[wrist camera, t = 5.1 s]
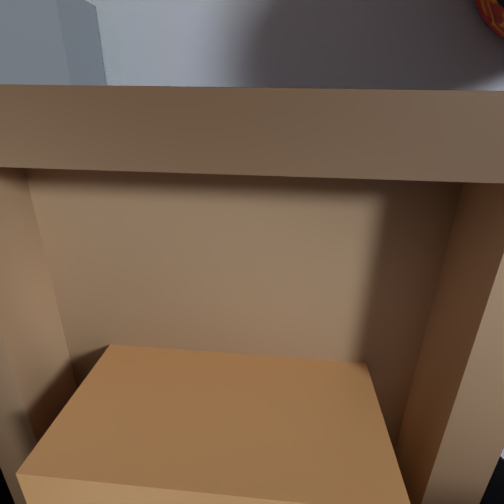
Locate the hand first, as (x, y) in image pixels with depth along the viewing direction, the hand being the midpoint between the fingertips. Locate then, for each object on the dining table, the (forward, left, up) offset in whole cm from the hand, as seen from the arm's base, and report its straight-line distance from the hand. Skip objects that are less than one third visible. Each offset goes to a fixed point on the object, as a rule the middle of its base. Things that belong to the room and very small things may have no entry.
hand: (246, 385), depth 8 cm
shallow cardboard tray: (0, 0, -2) cm, 2 cm away
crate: (0, 0, +2) cm, 2 cm away
